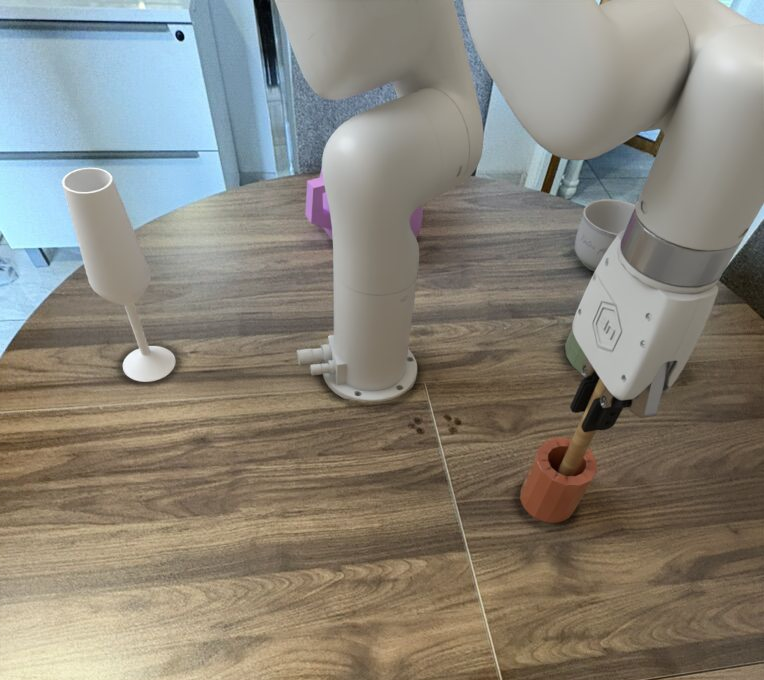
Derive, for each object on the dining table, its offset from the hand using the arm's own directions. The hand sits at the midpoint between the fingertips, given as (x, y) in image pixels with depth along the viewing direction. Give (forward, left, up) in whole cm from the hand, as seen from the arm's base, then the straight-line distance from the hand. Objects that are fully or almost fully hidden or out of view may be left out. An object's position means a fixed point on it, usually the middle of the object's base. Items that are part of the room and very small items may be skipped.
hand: (591, 417), depth 59 cm
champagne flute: (-43, +32, -15) cm, 56 cm away
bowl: (+19, +21, -15) cm, 32 cm away
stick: (0, 0, -13) cm, 13 cm away
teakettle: (-7, +57, -15) cm, 59 cm away
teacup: (+29, +41, -15) cm, 53 cm away
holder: (0, 0, -15) cm, 15 cm away
